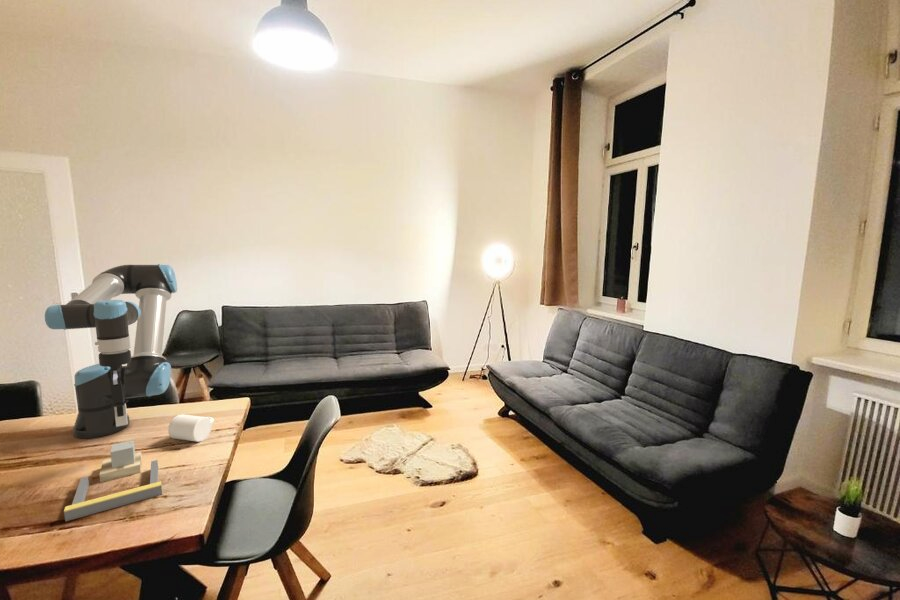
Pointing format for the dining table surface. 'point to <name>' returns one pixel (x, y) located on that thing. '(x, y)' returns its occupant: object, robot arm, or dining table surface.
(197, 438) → the mug
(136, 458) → the pallet
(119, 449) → the light grey cube
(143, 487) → the dock
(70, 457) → the dining table surface
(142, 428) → the dining table surface
